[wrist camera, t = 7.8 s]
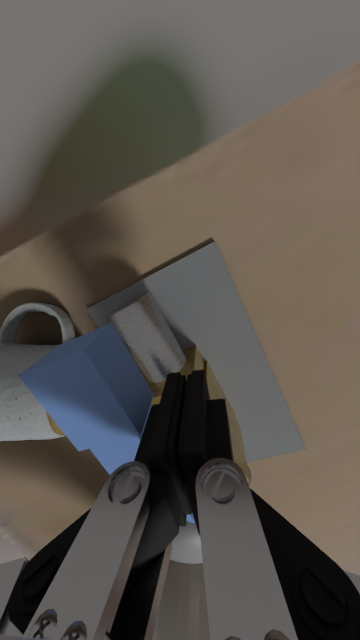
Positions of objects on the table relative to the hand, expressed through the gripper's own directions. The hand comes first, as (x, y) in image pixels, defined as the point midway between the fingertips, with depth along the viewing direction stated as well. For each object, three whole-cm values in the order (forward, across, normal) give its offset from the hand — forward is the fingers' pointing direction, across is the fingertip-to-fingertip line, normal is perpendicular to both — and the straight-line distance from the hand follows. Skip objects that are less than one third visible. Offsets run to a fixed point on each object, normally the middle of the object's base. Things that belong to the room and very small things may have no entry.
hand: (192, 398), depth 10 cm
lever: (0, +3, +3) cm, 4 cm away
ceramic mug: (+9, +14, +1) cm, 17 cm away
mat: (+9, 0, +6) cm, 11 cm away
